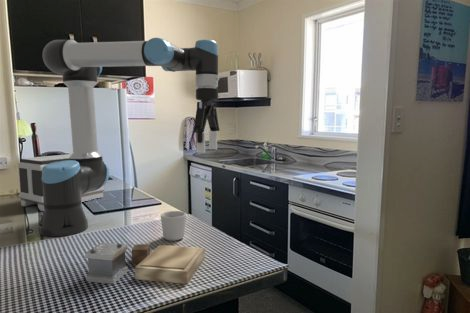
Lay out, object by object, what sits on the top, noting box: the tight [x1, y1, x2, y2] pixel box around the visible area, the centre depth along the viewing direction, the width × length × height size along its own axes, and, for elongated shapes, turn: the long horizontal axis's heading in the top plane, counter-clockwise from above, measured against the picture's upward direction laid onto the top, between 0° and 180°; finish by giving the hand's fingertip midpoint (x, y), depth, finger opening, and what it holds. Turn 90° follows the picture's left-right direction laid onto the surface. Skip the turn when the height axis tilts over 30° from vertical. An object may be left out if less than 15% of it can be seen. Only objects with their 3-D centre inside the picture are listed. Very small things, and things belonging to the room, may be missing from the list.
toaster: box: [17, 153, 105, 212], centre depth 162 cm, size 18×34×21 cm, turn 148°
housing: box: [84, 242, 129, 285], centre depth 86 cm, size 7×7×7 cm
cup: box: [160, 210, 187, 241], centre depth 114 cm, size 11×8×8 cm
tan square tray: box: [134, 244, 206, 285], centre depth 90 cm, size 13×15×3 cm
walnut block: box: [131, 243, 151, 265], centre depth 95 cm, size 4×4×4 cm
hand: (207, 150), depth 121 cm, fingers open, 13 cm apart
